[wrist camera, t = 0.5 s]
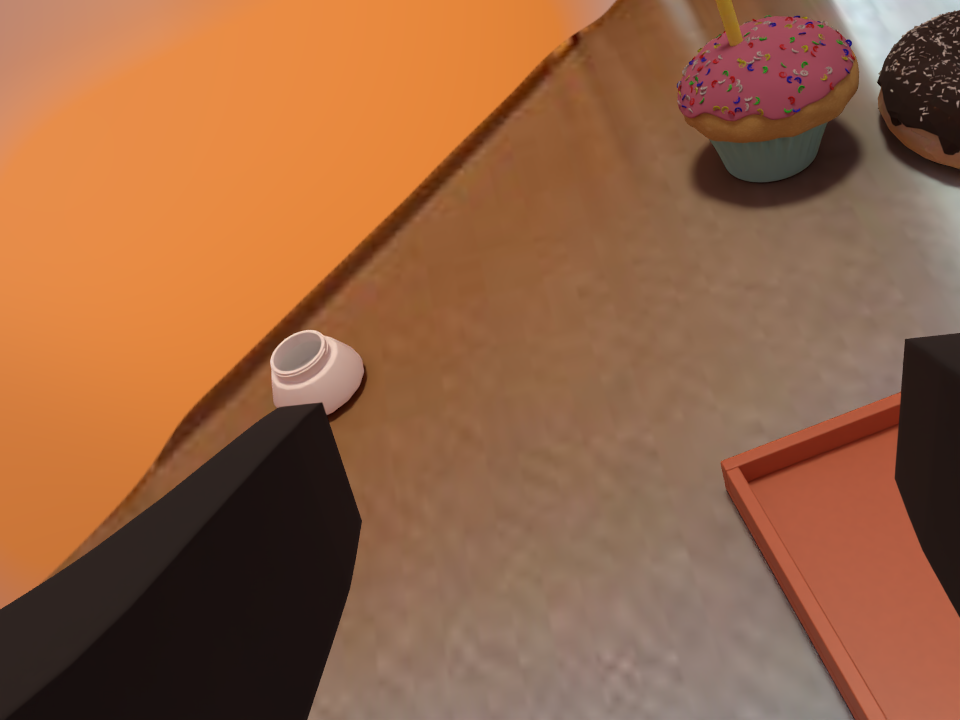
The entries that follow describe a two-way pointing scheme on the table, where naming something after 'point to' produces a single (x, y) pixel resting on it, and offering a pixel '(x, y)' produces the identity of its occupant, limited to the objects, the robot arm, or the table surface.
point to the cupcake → (768, 92)
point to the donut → (925, 89)
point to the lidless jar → (314, 371)
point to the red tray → (854, 562)
